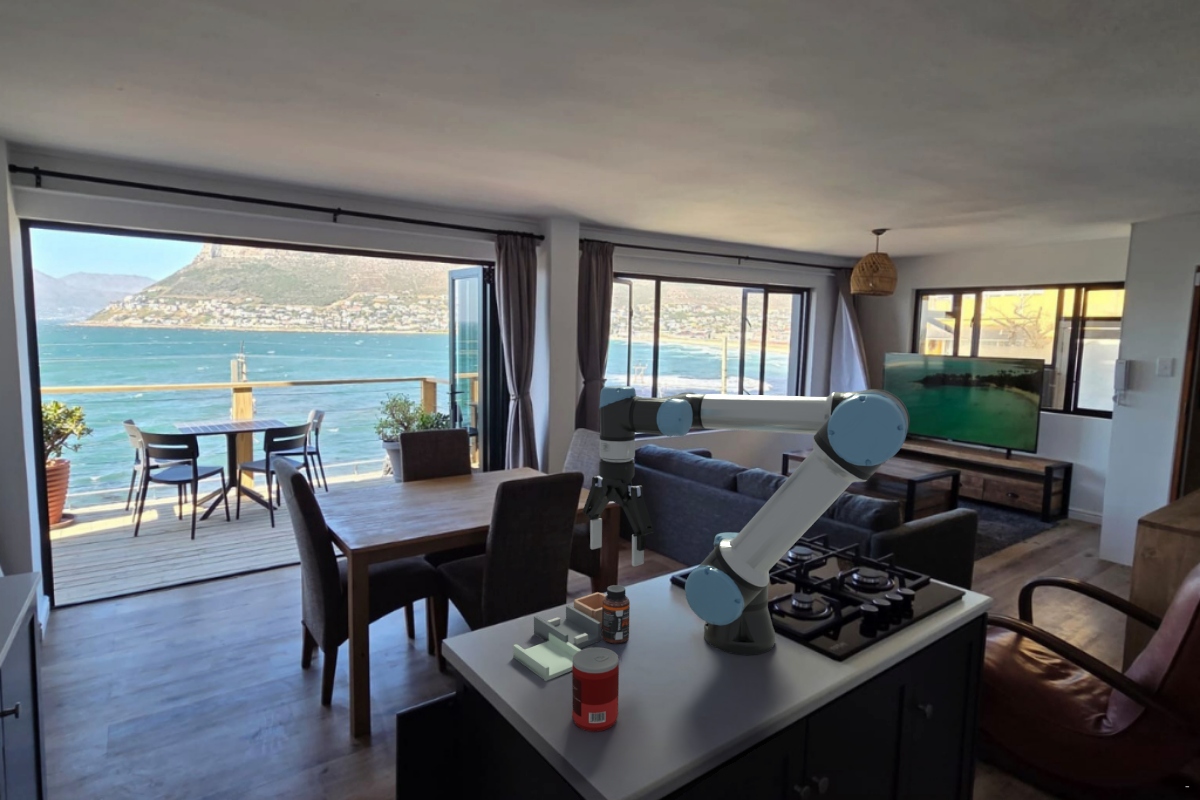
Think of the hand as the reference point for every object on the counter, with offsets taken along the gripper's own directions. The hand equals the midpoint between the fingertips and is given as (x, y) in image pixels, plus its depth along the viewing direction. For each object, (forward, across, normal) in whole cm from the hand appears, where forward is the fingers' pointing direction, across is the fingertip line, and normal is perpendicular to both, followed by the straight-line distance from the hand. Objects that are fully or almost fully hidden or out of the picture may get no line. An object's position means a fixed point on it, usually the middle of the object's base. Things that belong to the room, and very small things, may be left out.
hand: (616, 556), depth 136 cm
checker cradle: (+18, -7, -8) cm, 21 cm away
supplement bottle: (+19, 0, 0) cm, 19 cm away
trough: (+18, -1, -17) cm, 25 cm away
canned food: (+19, +20, -22) cm, 35 cm away
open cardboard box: (+18, -9, +2) cm, 21 cm away
